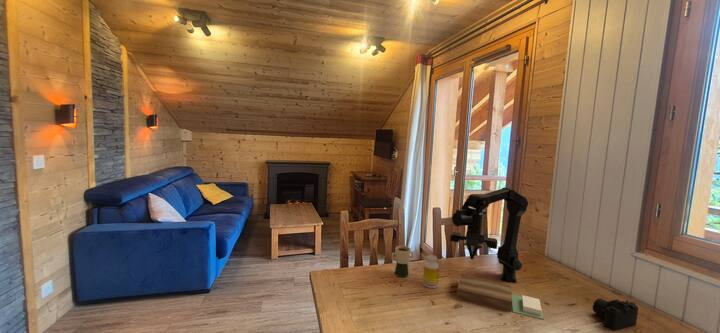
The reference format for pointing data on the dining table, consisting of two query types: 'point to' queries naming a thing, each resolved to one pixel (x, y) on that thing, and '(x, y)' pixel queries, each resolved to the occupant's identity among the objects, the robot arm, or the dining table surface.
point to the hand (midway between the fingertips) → (471, 259)
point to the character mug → (402, 260)
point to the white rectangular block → (531, 305)
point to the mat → (519, 309)
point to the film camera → (616, 313)
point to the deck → (485, 292)
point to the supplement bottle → (431, 272)
